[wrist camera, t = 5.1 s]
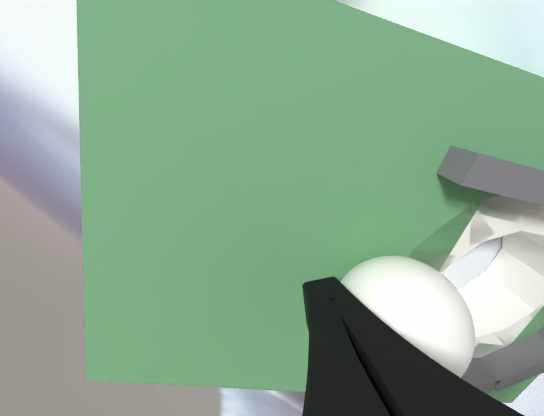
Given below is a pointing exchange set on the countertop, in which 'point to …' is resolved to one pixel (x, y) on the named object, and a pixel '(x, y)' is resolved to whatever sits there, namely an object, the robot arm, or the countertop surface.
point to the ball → (417, 307)
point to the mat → (293, 184)
